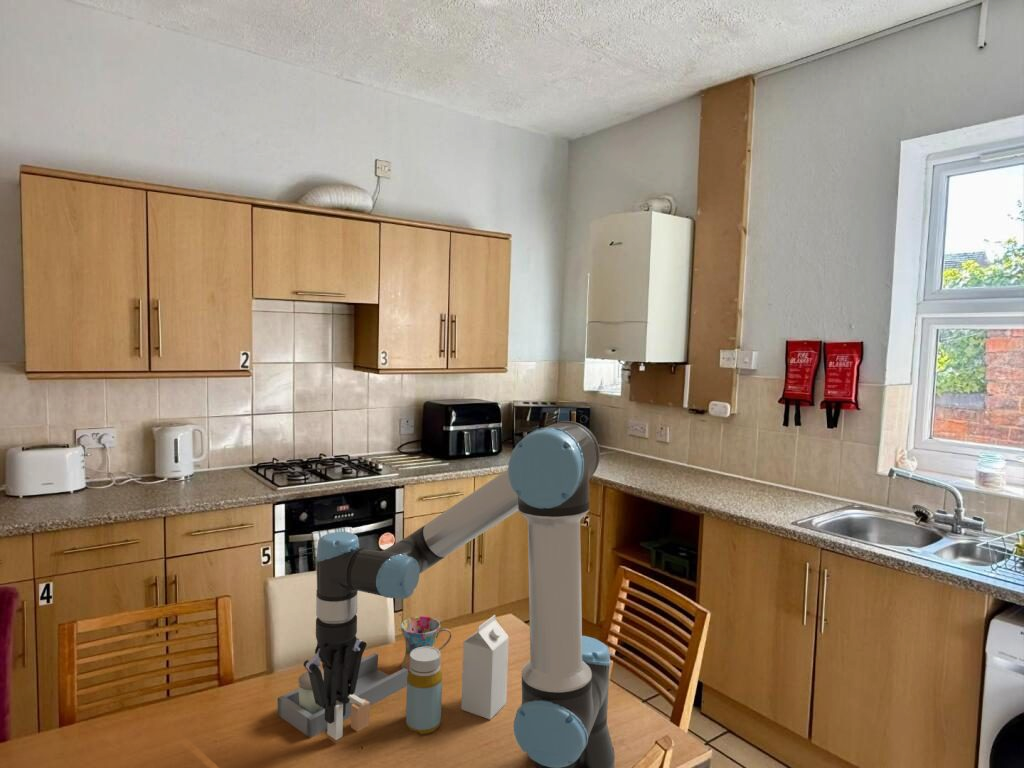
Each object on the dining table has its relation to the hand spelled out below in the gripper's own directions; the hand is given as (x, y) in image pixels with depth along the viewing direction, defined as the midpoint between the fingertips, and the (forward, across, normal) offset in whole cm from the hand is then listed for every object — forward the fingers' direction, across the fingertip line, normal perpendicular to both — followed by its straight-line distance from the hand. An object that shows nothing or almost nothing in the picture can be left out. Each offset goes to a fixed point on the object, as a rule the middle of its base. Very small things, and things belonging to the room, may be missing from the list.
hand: (334, 735), depth 122 cm
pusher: (+1, -6, -6) cm, 9 cm away
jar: (+1, -2, -10) cm, 10 cm away
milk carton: (+2, -28, +13) cm, 31 cm away
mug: (+2, -32, -8) cm, 32 cm away
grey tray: (+2, -10, -10) cm, 14 cm away
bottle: (+2, -15, +8) cm, 18 cm away
